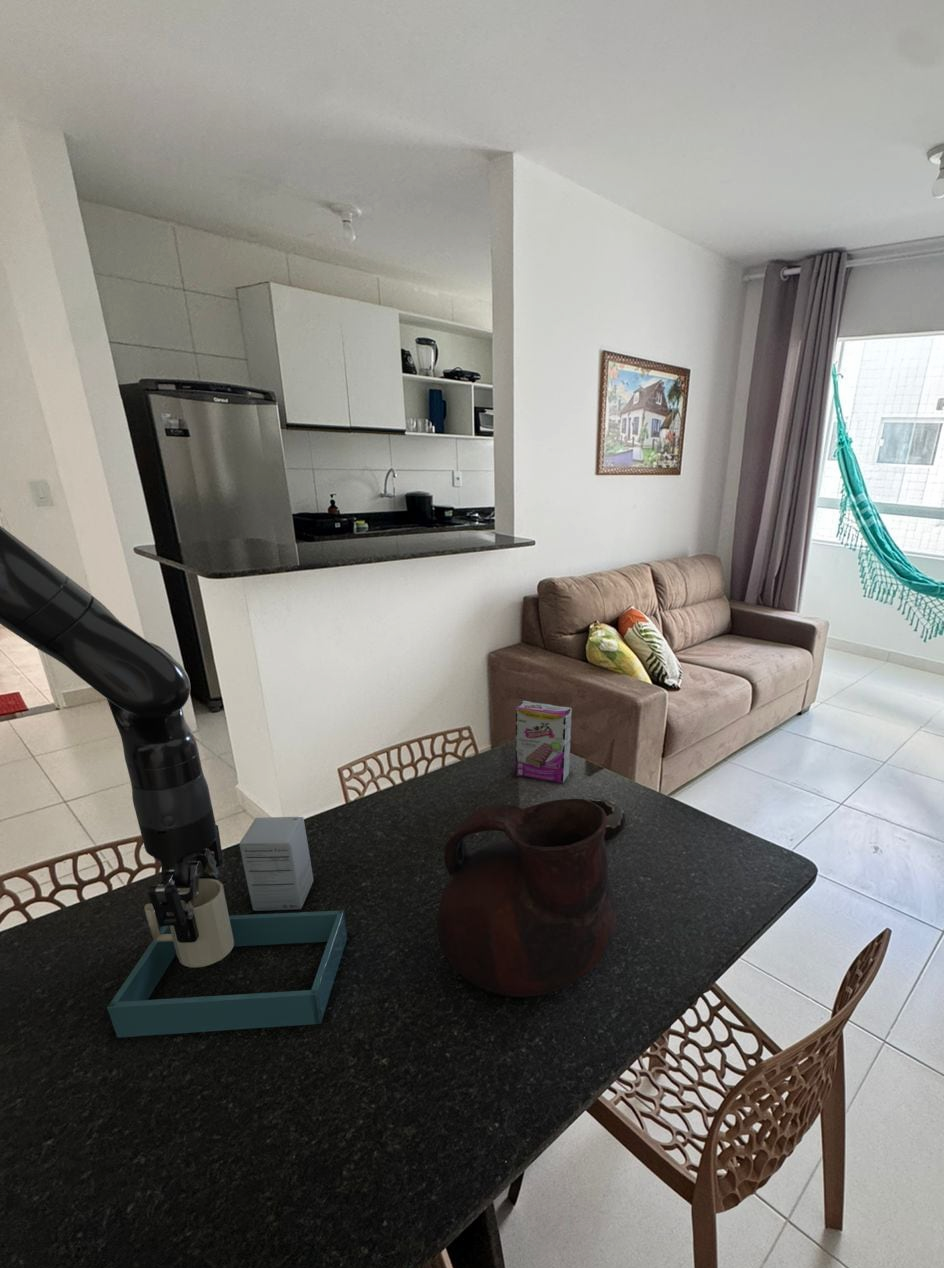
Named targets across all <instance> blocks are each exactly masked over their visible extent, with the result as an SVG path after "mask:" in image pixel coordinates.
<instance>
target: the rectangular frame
mask: <svg viewBox="0 0 944 1268" xmlns="http://www.w3.org/2000/svg"><path fill="white" fill-rule="evenodd" d="M229 917H230V922H231V927H232V932H233V938H234V946H233V948H234V947H253V946H272V945H273V946H274V945H291V944H292V945H293V944H309V943H310V944H311V943H313V944H314V943H326V945H325V948H324V950H323V951H324V952H323V954H322V957H321V960H320V963H319V965H318V969H317V972H316V975H315V978H314V981H313V984H312V986H311V989H304V990H303V989H302V990H291V991H289V990H288V991H271V992H256V993H242V994H241V993H240V994H225V995H209V996H208V995H207V996H206V995H205V996H193V997H192V996H190V997H175V998H159V999H150V997H151V995H152V993H153V992H154V991H155V989H156V987H157V985H158V984H159V982H160V980H161V979H162V978H163V976H164V974H165V972H166V971H167V970H168V968H169V966H170V965H171V963H172V961H173V960H174V958H175V956H177V954H176V950H175V946H174V942H173V941H165V942H154V941H153V940H152V941H151V942H150V944H149V945H148V946H147V948H146V950H145V951H144V952H143V954H142V955H141V957H140V959H139V960H138V961H137V963H136V964H135V966H134V967H133V969H132V970H131V971H130V973H129V975H128V976H127V978H126V979H125V980H124V982H123V983H122V985H121V986H120V988H119V989H118V991H116V994H115V995H114V997H113V998H112V1000H111V1001H110V1003H109V1004H108V1005H107V1007H106V1008H107V1011H108V1015H109V1018H110V1020H111V1024H112V1026H113V1029H114V1032H115V1034H116V1038H119V1039H120V1038H133V1037H134V1038H135V1037H147V1036H148V1037H149V1036H163V1035H177V1034H189V1033H190V1034H192V1033H206V1032H207V1033H208V1032H219V1031H221V1032H222V1031H237V1030H250V1029H265V1028H278V1027H279V1028H280V1027H281V1028H282V1027H293V1026H308V1025H321V1024H322V1022H323V1018H324V1015H325V1012H326V1008H327V1006H328V1002H329V999H330V995H331V992H332V989H333V985H334V982H335V979H336V976H337V973H338V970H339V966H340V963H341V960H342V957H343V953H344V950H345V948H346V943H347V941H348V931H347V930H348V929H347V923H346V915H345V910H343V909H341V910H325V911H321V910H320V911H304V912H303V911H301V912H281V913H279V912H277V913H258V914H257V913H256V914H236V915H229ZM159 931H160V934H171V930H170V926H161V927H160V928H159Z"/></svg>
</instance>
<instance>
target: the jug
mask: <svg viewBox="0 0 944 1268" xmlns="http://www.w3.org/2000/svg"><path fill="white" fill-rule="evenodd" d="M584 799H585V798H562V799H554V800H553V799H552V800H548V801H544V802H540V803H536V804H534V805H531V806H528V807H519V806H517V805H511V804H505V803H502V804H499V803H498V804H496V803H495V804H491V805H487V806H483V807H480V808H478V809H476V810H475V811H473V812H471V813H470V814H469V815H467V817H465V818H464V819H463V820H462V821H461V822H460V824H459V825H458V826H457V828H456V829H455V831H454V833H453V834H452V835H451V837H450V838H449V839H448V841H447V842H446V844H445V847H444V854H443V855H444V857H443V859H444V865H445V868H446V870H447V873H448V876H449V879H448V880H447V882H446V884H445V886H444V889H443V891H442V893H441V896H440V900H439V901H440V902H439V905H438V910H437V913H436V914H437V915H436V933H437V938H438V941H439V945H440V947H441V950H442V952H443V954H444V956H445V957H446V959H447V960H448V962H449V963H450V965H451V966H452V967H453V968H454V969H455V970H456V972H457V973H459V975H461V976H462V977H463V978H465V980H467V981H469V982H471V983H472V984H473V985H476V986H477V987H479V988H481V989H483V990H486V991H488V992H492V993H494V994H498V995H502V996H506V997H518V998H526V997H529V998H530V997H537V996H543V995H545V994H546V995H547V994H549V993H552V992H555V991H558V990H560V989H563V988H565V987H567V986H569V985H572V984H573V983H575V982H576V981H578V980H580V979H581V978H584V977H585V976H586V975H588V974H589V973H590V972H591V971H593V970H594V969H595V967H596V966H597V965H598V964H600V962H601V961H602V959H603V958H604V956H605V954H606V953H607V951H608V949H609V947H610V945H611V943H612V940H613V937H614V933H615V929H616V924H617V920H618V906H617V900H616V899H617V898H616V896H615V895H616V894H615V891H614V887H613V886H612V884H611V881H610V879H609V857H608V849H607V846H606V843H605V840H604V834H605V829H606V825H607V816H606V813H605V811H604V810H603V809H602V808H601V807H599V806H598V805H596V804H594V803H592V802H590V801H588V800H584ZM487 831H488V832H490V831H491V832H492V831H496V832H497V831H498V832H503V833H504V834H505V835H506V837H507V838H502V839H500V840H496V841H494V842H491V843H488V844H486V845H484V846H481V847H480V848H477V849H476V850H474V851H472V850H470V849H469V848H468V847H467V845H466V842H465V838H466V837H468V836H470V835H473V834H476V833H481V832H487Z"/></svg>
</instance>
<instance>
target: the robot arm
mask: <svg viewBox="0 0 944 1268" xmlns="http://www.w3.org/2000/svg"><path fill="white" fill-rule="evenodd" d="M0 625H1V626H2V627H4V628H5V629H7V630H9V631H10V632H12V633H13V634H14V635H16V636H17V637H19V638H20V639H22V640H23V641H24V642H27V643H28V644H29V645H31V646H33V647H34V648H36V649H37V650H39V651H40V652H42V653H44V654H46V655H47V656H49V657H51V658H53V659H55V660H56V661H58V662H59V663H61V664H63V665H64V666H65V667H67V668H68V669H69V670H70V671H71V672H73V673H74V674H75V675H76V676H78V677H79V678H80V679H81V680H83V681H84V682H85V683H86V684H88V686H90V687H91V688H92V689H94V690H95V691H96V692H98V693H99V694H100V695H102V696H103V697H104V698H105V699H106V701H107V704H108V706H109V709H110V712H111V714H112V717H113V719H114V722H115V726H116V728H117V730H118V732H119V735H120V739H121V743H122V750H123V756H124V761H125V764H126V768H127V773H128V777H129V780H130V786H131V794H132V795H131V798H132V805H133V807H134V811H135V815H136V819H137V822H138V823H137V824H138V828H139V831H140V836H141V839H142V842H143V847H144V850H145V852H146V853H147V854H148V855H149V856H150V857H153V858H154V859H156V860H158V862H160V863H161V864H160V865H161V866H160V867H161V871H160V875H161V878H162V879H161V880H160V882H159V883H158V884H154V885H151V884H150V886H149V887H148V891H147V892H148V896H149V900H150V904H152V906H153V909H154V912H155V916H156V920H157V924H158V927H162V926H174V929H175V933H176V937H177V941H178V942H180V943H189V942H196V940H197V939H198V937H199V934H198V929H197V925H196V921H195V916H194V915H193V907H194V899H195V898H197V897H198V892H199V879H204V878H210V879H215V880H218V878H219V875H220V872H219V868H218V867H222V866H223V864H224V858H223V857H224V855H223V850H222V849H223V848H222V843H221V836H220V830H219V825H218V824H216V818H215V814H214V808H213V803H212V799H211V794H210V789H209V785H208V782H207V779H206V777H205V775H204V772H203V767H202V762H201V757H200V752H199V747H198V742H197V739H196V737H195V734H194V731H192V729H191V727H190V726H189V724H188V722H187V720H186V719H185V715H184V710H183V707H185V705H186V703H187V702H188V700H189V697H190V695H191V682H190V678H189V675H188V673H187V671H186V670H185V668H184V667H183V666H182V665H181V664H180V663H179V662H178V661H177V660H176V658H174V657H173V656H172V655H171V654H170V653H169V652H167V650H165V649H164V648H163V647H161V646H160V645H158V644H155V643H153V642H151V641H148V640H146V639H145V638H144V637H142V636H141V635H139V634H138V633H136V632H135V631H134V630H133V629H131V628H130V627H128V626H127V625H125V624H124V623H123V622H121V621H120V620H119V619H118V618H117V617H116V616H115V615H114V614H113V613H112V611H110V609H109V608H107V607H106V605H104V604H103V603H102V602H101V601H100V600H98V599H97V598H96V597H95V596H93V595H92V594H91V593H90V592H88V591H87V590H86V589H85V588H84V587H82V586H81V585H79V584H78V583H77V582H76V581H74V580H73V579H72V578H70V577H69V576H68V575H66V574H65V573H64V572H62V571H61V570H60V569H59V568H57V567H56V566H54V565H53V564H52V563H50V562H49V561H48V560H46V558H44V557H43V556H41V555H40V554H38V553H37V552H36V551H35V550H33V549H32V548H30V547H29V546H28V545H27V544H26V543H24V542H23V541H21V540H20V539H19V538H18V537H16V536H15V535H14V534H12V533H11V532H9V531H8V530H7V529H6V528H4V527H3V526H1V525H0ZM212 853H213V855H214V856H213V855H212ZM177 888H190V891H189V892H185V893H179V892H180V890H179V889H177ZM181 900H184V901H185V909H183V906H182V903H181Z"/></svg>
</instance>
